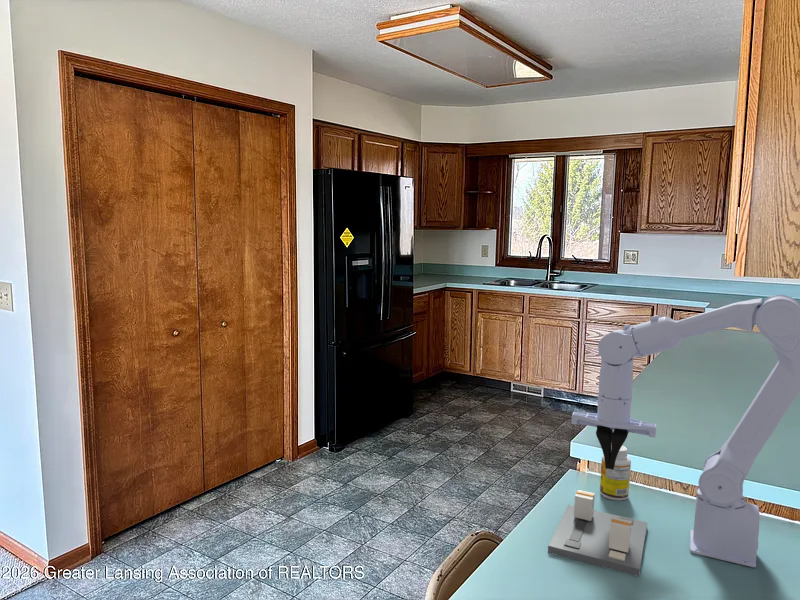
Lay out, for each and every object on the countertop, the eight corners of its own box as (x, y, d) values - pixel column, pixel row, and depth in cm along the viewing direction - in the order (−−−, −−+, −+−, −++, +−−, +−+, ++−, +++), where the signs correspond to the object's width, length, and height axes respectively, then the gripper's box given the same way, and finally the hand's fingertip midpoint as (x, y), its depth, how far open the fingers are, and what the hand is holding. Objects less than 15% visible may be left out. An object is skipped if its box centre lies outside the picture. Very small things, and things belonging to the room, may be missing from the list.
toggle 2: (629, 544, 96) (631, 520, 96) (628, 552, 93) (629, 527, 93) (610, 539, 97) (612, 515, 97) (608, 547, 95) (610, 523, 94)
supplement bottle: (604, 487, 122) (608, 440, 121) (632, 495, 118) (635, 446, 117) (595, 496, 118) (598, 447, 116) (623, 504, 114) (626, 454, 113)
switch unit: (646, 528, 105) (647, 521, 104) (638, 576, 90) (639, 568, 89) (567, 510, 111) (568, 503, 111) (547, 552, 96) (548, 544, 96)
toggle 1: (593, 514, 106) (594, 492, 106) (590, 521, 104) (592, 498, 103) (576, 510, 108) (578, 488, 107) (573, 517, 105) (575, 494, 104)
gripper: (659, 396, 106) (653, 467, 107) (577, 385, 112) (573, 452, 114) (657, 405, 100) (651, 481, 101) (571, 393, 106) (566, 464, 108)
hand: (610, 467), depth 107 cm, fingers closed
